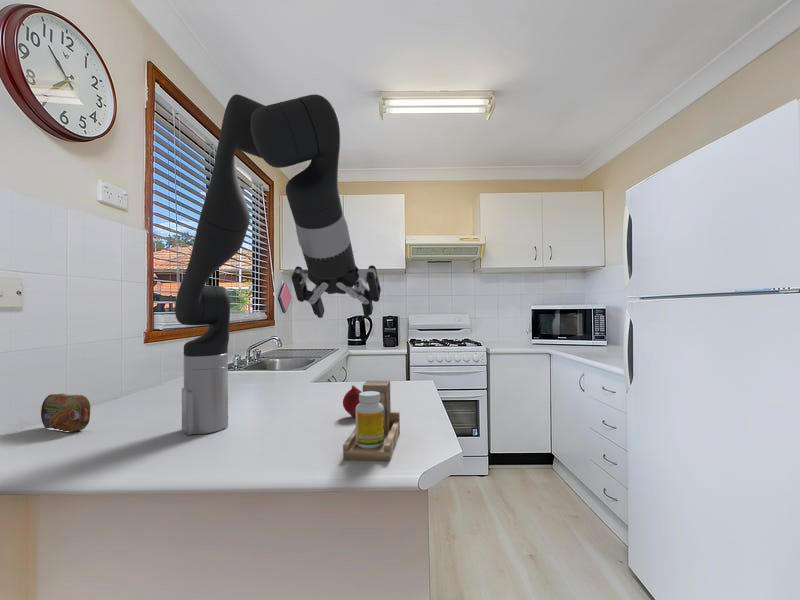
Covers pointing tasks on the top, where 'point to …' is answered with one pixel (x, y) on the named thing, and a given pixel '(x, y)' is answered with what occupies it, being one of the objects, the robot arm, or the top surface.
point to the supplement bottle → (369, 420)
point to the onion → (351, 400)
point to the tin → (65, 412)
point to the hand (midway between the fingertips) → (344, 314)
